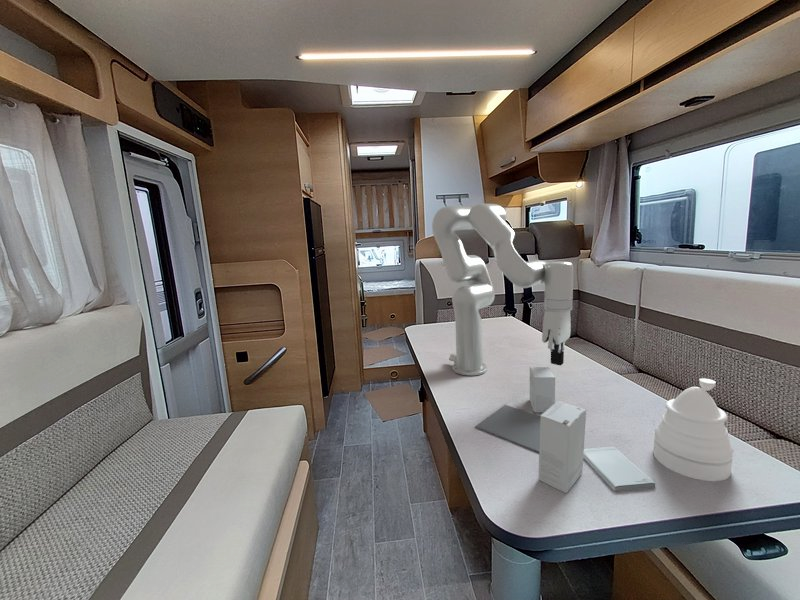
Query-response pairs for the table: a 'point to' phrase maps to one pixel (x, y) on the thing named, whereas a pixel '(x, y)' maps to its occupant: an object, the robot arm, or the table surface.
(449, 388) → the table surface
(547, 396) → the small box
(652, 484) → the hard drive
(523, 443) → the rubber mat
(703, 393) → the honey pot
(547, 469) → the skincare box
